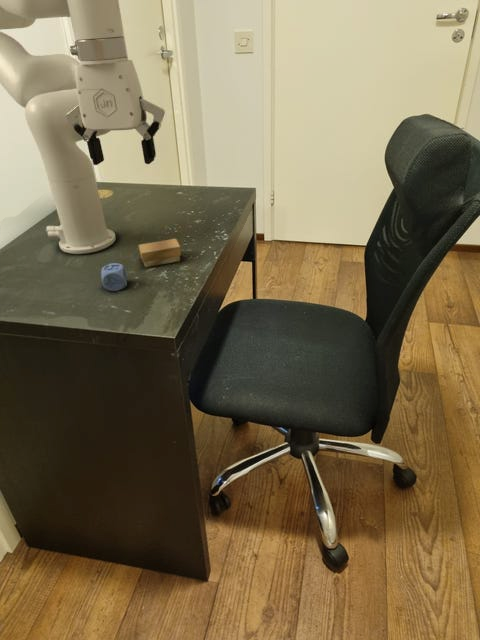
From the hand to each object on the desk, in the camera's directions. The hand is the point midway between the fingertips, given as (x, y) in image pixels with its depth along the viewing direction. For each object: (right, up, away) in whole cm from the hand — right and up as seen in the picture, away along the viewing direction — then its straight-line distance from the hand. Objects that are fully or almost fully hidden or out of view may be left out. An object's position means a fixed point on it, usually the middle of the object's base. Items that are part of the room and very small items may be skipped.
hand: (124, 162), depth 83 cm
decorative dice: (-3, -22, +7) cm, 23 cm away
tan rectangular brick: (+4, -15, +16) cm, 22 cm away
